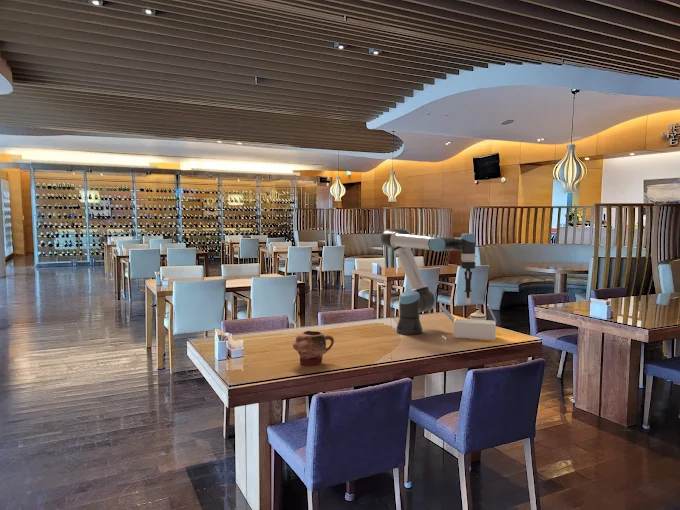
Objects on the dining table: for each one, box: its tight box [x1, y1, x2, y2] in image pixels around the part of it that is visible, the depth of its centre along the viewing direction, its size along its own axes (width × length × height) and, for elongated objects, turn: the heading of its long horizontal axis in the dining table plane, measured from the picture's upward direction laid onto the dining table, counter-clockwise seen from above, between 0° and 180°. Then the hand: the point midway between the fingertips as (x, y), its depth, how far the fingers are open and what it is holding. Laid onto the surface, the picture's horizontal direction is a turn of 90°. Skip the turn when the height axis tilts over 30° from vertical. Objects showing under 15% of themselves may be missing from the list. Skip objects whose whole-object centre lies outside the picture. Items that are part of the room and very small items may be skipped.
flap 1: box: [439, 305, 456, 322], centre depth 271 cm, size 10×9×1 cm
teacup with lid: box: [466, 310, 487, 320], centre depth 287 cm, size 12×9×12 cm
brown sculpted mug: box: [292, 330, 335, 366], centre depth 220 cm, size 20×12×14 cm, turn 121°
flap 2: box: [487, 303, 497, 324], centre depth 264 cm, size 10×9×1 cm
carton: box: [453, 318, 497, 341], centre depth 267 cm, size 22×9×9 cm, turn 73°
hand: (468, 303), depth 267 cm, fingers closed
